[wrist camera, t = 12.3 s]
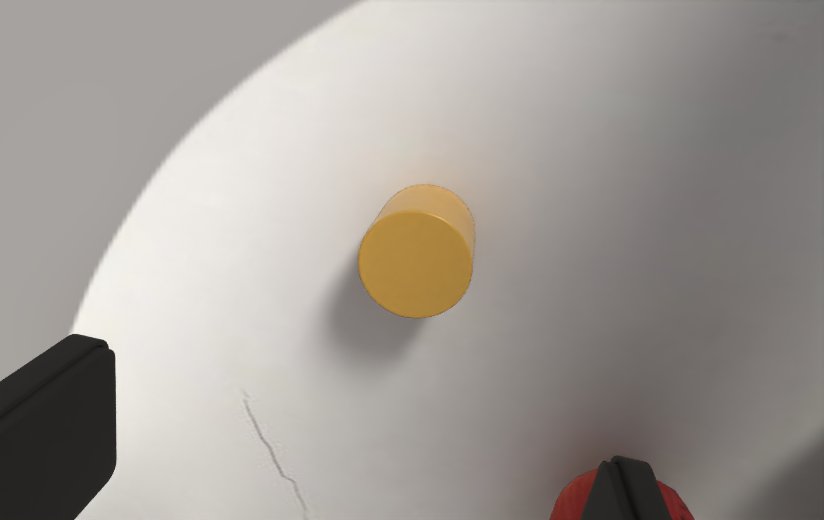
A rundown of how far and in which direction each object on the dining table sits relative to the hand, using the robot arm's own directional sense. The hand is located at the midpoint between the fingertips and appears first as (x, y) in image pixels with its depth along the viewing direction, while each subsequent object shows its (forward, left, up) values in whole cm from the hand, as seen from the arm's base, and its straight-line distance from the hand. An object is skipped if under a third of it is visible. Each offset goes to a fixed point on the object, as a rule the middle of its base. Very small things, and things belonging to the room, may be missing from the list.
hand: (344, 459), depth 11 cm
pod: (0, 0, -14) cm, 14 cm away
